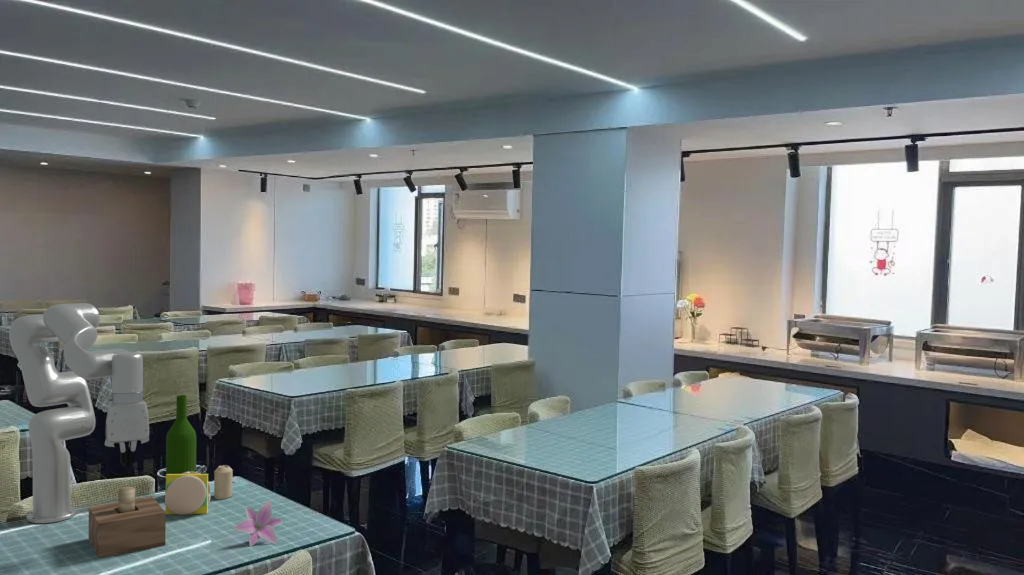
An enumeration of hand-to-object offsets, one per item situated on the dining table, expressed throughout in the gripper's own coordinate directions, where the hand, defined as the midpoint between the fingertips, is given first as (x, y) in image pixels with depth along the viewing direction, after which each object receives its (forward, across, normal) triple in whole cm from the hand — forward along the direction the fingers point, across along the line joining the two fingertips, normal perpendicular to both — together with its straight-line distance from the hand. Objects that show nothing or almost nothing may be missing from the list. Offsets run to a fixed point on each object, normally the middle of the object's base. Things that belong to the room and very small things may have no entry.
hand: (127, 465), depth 206 cm
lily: (+21, +30, -18) cm, 41 cm away
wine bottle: (+21, +22, +33) cm, 45 cm away
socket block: (+21, 0, 0) cm, 21 cm away
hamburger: (+21, +20, +16) cm, 33 cm away
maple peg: (+13, 0, 0) cm, 14 cm away
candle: (+21, +33, +25) cm, 46 cm away
